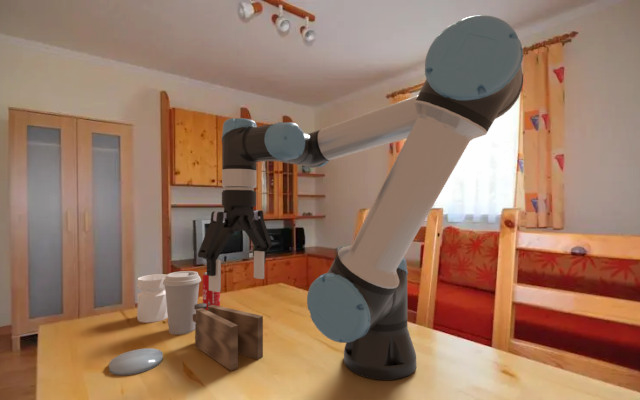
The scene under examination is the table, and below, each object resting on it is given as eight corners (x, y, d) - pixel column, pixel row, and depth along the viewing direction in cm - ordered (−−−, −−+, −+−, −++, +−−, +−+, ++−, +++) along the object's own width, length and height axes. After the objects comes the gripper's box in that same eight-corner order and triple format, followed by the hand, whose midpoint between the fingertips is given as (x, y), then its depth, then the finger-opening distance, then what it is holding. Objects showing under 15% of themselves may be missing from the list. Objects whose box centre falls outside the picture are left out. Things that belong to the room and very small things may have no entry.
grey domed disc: (172, 359, 73) (172, 354, 73) (125, 380, 64) (126, 375, 64) (145, 349, 78) (145, 344, 78) (99, 367, 70) (99, 362, 70)
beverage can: (217, 313, 103) (217, 274, 103) (200, 313, 103) (200, 274, 103) (222, 308, 108) (222, 271, 108) (206, 308, 108) (206, 271, 109)
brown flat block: (262, 356, 74) (262, 315, 74) (251, 363, 71) (251, 319, 71) (203, 338, 84) (203, 301, 84) (191, 343, 81) (191, 305, 81)
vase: (169, 320, 98) (169, 278, 98) (135, 324, 94) (135, 281, 94) (170, 311, 106) (170, 273, 106) (138, 314, 102) (139, 275, 102)
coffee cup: (187, 338, 84) (188, 278, 84) (154, 335, 86) (154, 277, 86) (207, 324, 94) (208, 271, 94) (177, 322, 96) (177, 269, 96)
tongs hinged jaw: (238, 367, 69) (238, 324, 69) (230, 370, 67) (230, 327, 67) (197, 340, 82) (197, 305, 82) (190, 342, 81) (190, 306, 81)
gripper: (263, 191, 88) (262, 272, 88) (179, 187, 67) (179, 294, 66) (286, 191, 84) (285, 275, 84) (205, 187, 63) (204, 300, 63)
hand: (238, 284), depth 75 cm, fingers open, 13 cm apart
